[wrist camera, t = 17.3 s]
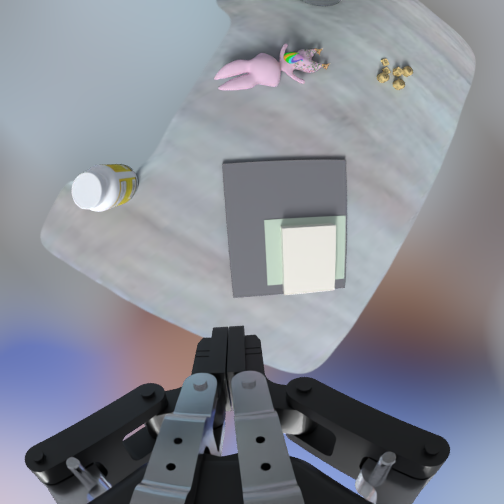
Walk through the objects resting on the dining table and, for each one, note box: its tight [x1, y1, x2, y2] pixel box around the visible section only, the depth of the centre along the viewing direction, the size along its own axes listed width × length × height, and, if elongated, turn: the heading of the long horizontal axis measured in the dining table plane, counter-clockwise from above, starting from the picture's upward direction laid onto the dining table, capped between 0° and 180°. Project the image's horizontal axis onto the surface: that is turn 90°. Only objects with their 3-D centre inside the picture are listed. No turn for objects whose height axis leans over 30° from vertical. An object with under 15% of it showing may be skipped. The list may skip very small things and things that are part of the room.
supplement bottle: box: [72, 164, 138, 211], centre depth 30 cm, size 5×5×10 cm
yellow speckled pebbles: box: [377, 59, 413, 90], centre depth 32 cm, size 5×5×2 cm
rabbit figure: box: [214, 44, 330, 90], centre depth 29 cm, size 6×6×15 cm
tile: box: [280, 223, 336, 295], centre depth 38 cm, size 7×2×9 cm
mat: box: [222, 160, 347, 298], centre depth 38 cm, size 18×16×1 cm
